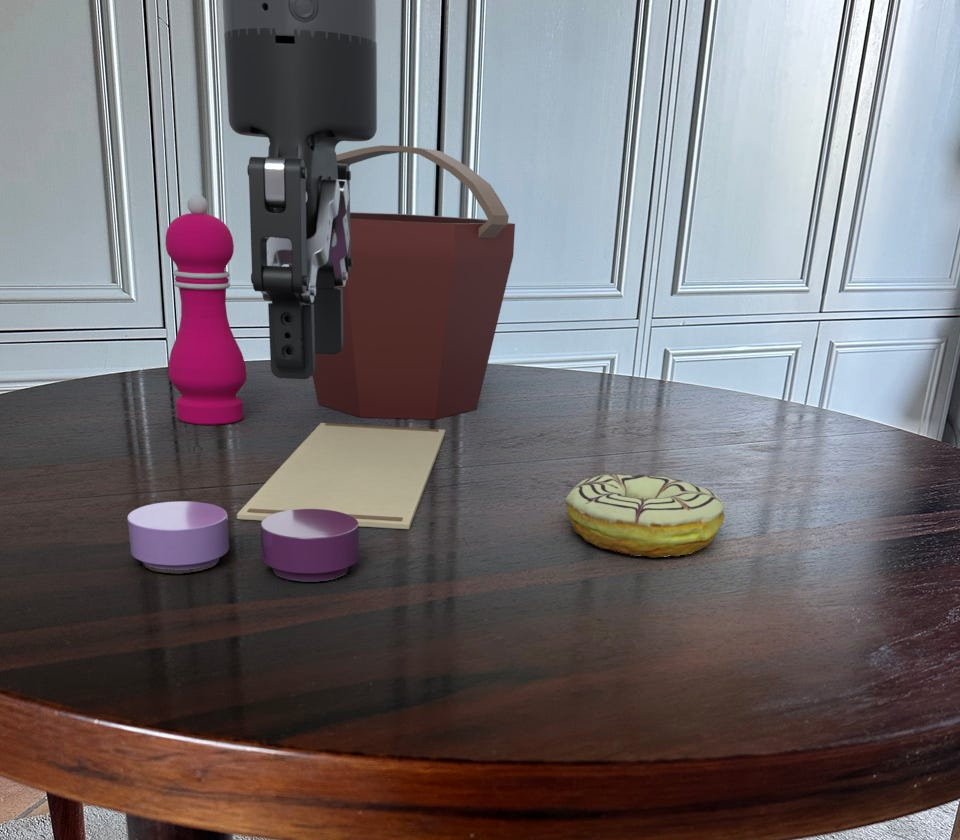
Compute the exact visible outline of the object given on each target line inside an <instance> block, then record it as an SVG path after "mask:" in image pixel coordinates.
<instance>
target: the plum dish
mask: <svg viewBox="0 0 960 840" xmlns="http://www.w3.org/2000/svg"><path fill="white" fill-rule="evenodd" d="M259 526H260V545H261V546H260V547H261V560H262V562H263V563H264V564H265V565H266V566H268V567H270V568H272V572H273V571H274V572H275V573H276V574H277V575H280V576H282V577H284V578H285V577H286V578H288V579H289V578H291V579H298V580H307V581H308V580H309V581H314V580H325V579H331V578H336V577H338V576H341V575H343V574H345V573H347V572H348V573H349V571H350V567H352V566H353V565H355V564H356V563H357V562H358V560H359V557H360V551H359V550H360V547H359V546H360V543H359V542H360V539H359V538H360V535H359V531H360V530H359V529H360V528H359V527H360V526H359V524H358V521H357V520H356V519H355V518H354V517H352V516H350V515H348V514H345V513H341V512H337V511H332V510H323V509H297V510H288V511H283V512H278V513H275V514H272V515H269V516H267V517H266V518H264V519H263V520H262V521H260V525H259ZM348 570H349V571H348ZM348 573H347V574H348Z"/></svg>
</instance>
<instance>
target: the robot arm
mask: <svg viewBox="0 0 960 840" xmlns="http://www.w3.org/2000/svg"><path fill="white" fill-rule="evenodd" d="M377 4H378V2H377V0H222V15H223V16H222V17H223V18H222V19H223V37H224V57H225V74H226V75H225V77H226V93H227V94H226V96H227V112H228V124H229V126H230V128H231V129H232V131H234V132H235V133H236V134H238V135H241V136H246V137H247V136H248V137H256V138H257V137H258V138H268V143H269V145H268V155H267V156H250V157H249V159H248V164H247V169H246V170H247V176H248V190H249V191H248V192H249V193H248V195H249V221H250V222H249V225H250V226H249V227H250V254H251V256H250V257H251V274H250V282H251V284H252V287H253V291H254V292H260V293H261V295H262V299H263V301H264V302H268V303H267V306H268V307H267V309H268V310H267V311H268V330H269V332H268V333H269V334H268V335H269V356H270V357H269V359H270V371H271V373H272V374H273V375H274V376H275V377H276V378H278V379H290V380H291V379H292V380H307V379H309V378H311V377H312V375H313V374H314V372H315V353H316V354H337V353H339V352H340V351H341V350H342V348H343V289H340V288H338V286H339V287H345V285H346V281H347V279H348V273H350V270H351V267H352V265H353V260H352V258H351V230H350V212H351V189H350V187H351V186H350V185H351V183H350V181H351V180H352V172H351V170H350V166H348V164H337V158H336V155H337V152H336V146H337V145H338V144H339V143H340V142H341V143H342V142H366V141H370V140H372V139H373V138H375V135H377V134H376V133H377V130H378V129H377V128H378V107H377V106H378V103H377V102H378V83H377V82H378V31H377V30H378V29H377V28H378V26H377V25H378V23H377V22H378V18H377V17H378V16H377V15H378V14H377V13H378V11H377V10H378V9H377V8H378V5H377ZM333 229H335V231H336V233H333ZM285 265H287V266H285ZM289 265H292V267H289Z"/></svg>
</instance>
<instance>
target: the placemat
mask: <svg viewBox="0 0 960 840" xmlns="http://www.w3.org/2000/svg"><path fill="white" fill-rule="evenodd" d="M445 435H446V429H440V428H439V429H437V428H420V427H405V426H404V427H403V426H402V427H401V426H386V425H370V424H369V425H365V424H352V423H351V424H348V423H333V422H332V423H330V422H320V423H319V424H318V426H316V428H314V430H313V431H312V432H311V433H310V434H309V435H308V436H307V437H306V439H304V441H302V443H301V444H300V445H299V446H298V447H297V448H296V449H295V450H294V452H293V453H292V454H291V455H290V456H289V457H288V458H287V459H286V460H285V461H284V463H282V464H281V466H280V467H279V468H278V469H277V470H276V471H275V472H274V473H273V474H272V475H271V477H269V479H268V480H267V481H266V482H265V483H264V484H263V485H262V486H261V487H260V488H259V489H258V490H257V492H256V493H255V494H254V495H253V496H252V497H251V498H250V499H249V501H247V502H246V503H245V504H244V506H243V507H242V508H241V509H240V510H239V511H238V512H237V513H236V519H237V520H243V521H244V520H245V521H260V522H262V520H263V519H264V518H266V517H267V516H269V515H272V514H275V513H278V512H283V511H288V510H297V509H323V510H332V511H337V512H341V513H345V514H348V515H350V516H352V517H354V518H355V519H356V520H357V521H358V524H359V527H361V528H362V527H364V528H380V529H395V530H397V529H399V530H410V528H411V526H412V523H413V521H414V518H415V515H416V512H417V509H418V507H419V504H420V502H421V499H422V497H423V494H424V491H425V488H426V486H427V483H428V481H429V478H430V476H431V473H432V470H433V467H434V464H435V462H436V460H437V457H438V454H439V451H440V449H441V446H442V444H443V440H444V439H445Z"/></svg>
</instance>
